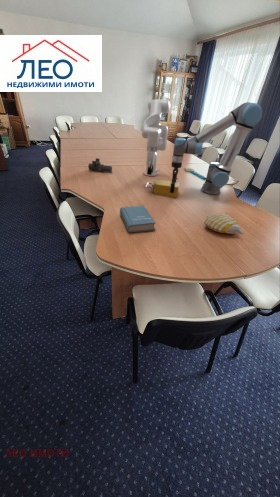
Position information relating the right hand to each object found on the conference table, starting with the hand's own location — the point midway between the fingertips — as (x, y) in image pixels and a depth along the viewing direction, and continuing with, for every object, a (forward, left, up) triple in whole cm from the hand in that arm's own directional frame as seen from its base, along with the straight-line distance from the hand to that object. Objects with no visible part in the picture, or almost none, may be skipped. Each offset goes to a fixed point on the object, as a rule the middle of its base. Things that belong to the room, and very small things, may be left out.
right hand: (172, 190), depth 175 cm
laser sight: (+51, -60, -3) cm, 79 cm away
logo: (-44, -47, -3) cm, 64 cm away
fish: (-11, +57, -3) cm, 59 cm away
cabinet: (+4, -2, -3) cm, 6 cm away
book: (+39, +40, -3) cm, 56 cm away
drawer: (+9, -5, -2) cm, 11 cm away
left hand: (+17, -9, +11) cm, 22 cm away
